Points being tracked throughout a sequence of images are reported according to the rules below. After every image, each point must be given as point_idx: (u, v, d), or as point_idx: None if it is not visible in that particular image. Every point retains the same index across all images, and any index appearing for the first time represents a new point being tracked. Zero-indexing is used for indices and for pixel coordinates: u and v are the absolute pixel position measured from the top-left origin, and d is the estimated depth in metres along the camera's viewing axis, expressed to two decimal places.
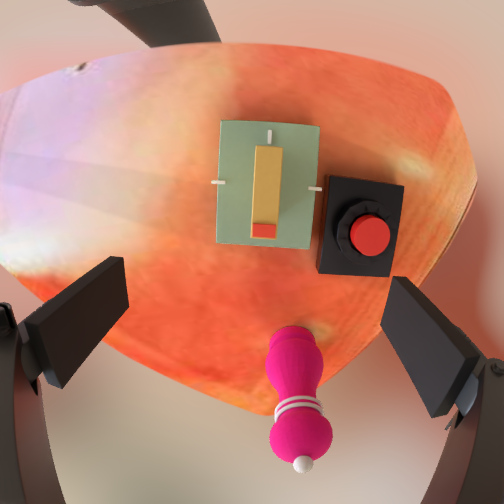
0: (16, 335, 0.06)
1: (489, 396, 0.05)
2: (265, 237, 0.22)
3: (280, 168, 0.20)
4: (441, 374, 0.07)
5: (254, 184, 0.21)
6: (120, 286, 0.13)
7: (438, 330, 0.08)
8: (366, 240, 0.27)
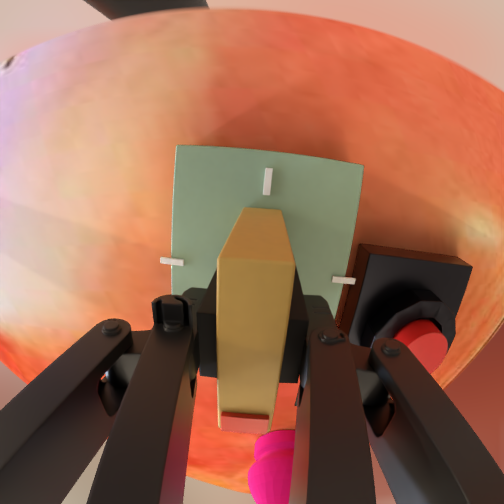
0: (190, 334, 0.08)
1: (320, 371, 0.06)
2: (247, 432, 0.09)
3: (285, 317, 0.08)
4: None
5: (218, 349, 0.08)
6: None
7: None
8: None
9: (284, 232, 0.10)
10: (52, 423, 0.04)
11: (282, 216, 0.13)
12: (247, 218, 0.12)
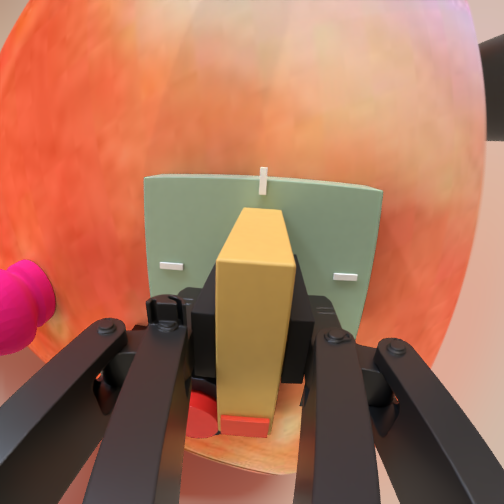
0: (184, 334, 0.08)
1: (326, 371, 0.06)
2: (247, 435, 0.09)
3: (285, 319, 0.07)
4: None
5: (217, 352, 0.08)
6: None
7: None
8: None
9: (284, 233, 0.10)
10: (48, 422, 0.04)
11: (282, 216, 0.13)
12: (247, 218, 0.12)
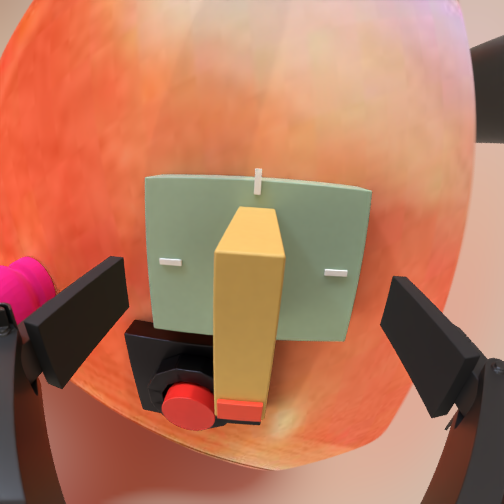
0: (16, 335, 0.06)
1: (489, 396, 0.05)
2: (242, 419, 0.10)
3: (276, 306, 0.08)
4: (441, 374, 0.07)
5: (215, 337, 0.09)
6: (120, 286, 0.13)
7: (438, 330, 0.08)
8: (181, 409, 0.18)
9: (276, 229, 0.11)
10: None
11: (275, 215, 0.14)
12: (242, 216, 0.13)
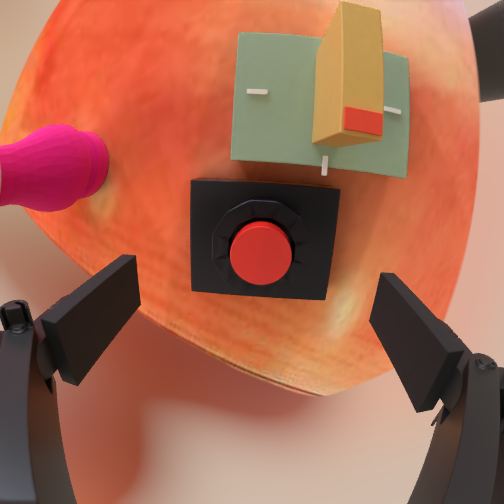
0: (32, 333, 0.06)
1: (474, 392, 0.05)
2: (366, 133, 0.10)
3: (380, 34, 0.09)
4: (425, 368, 0.08)
5: (343, 48, 0.09)
6: (133, 284, 0.13)
7: (422, 325, 0.08)
8: (254, 247, 0.18)
9: None
10: None
11: None
12: None
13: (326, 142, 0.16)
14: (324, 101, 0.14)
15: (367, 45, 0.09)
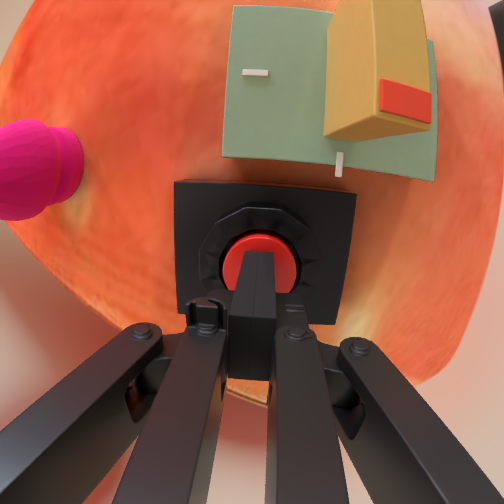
0: (224, 338, 0.08)
1: (287, 370, 0.07)
2: (410, 118, 0.07)
3: None
4: None
5: (372, 4, 0.06)
6: None
7: None
8: None
9: None
10: (75, 431, 0.04)
11: None
12: None
13: (344, 134, 0.12)
14: (343, 80, 0.10)
15: (403, 5, 0.05)
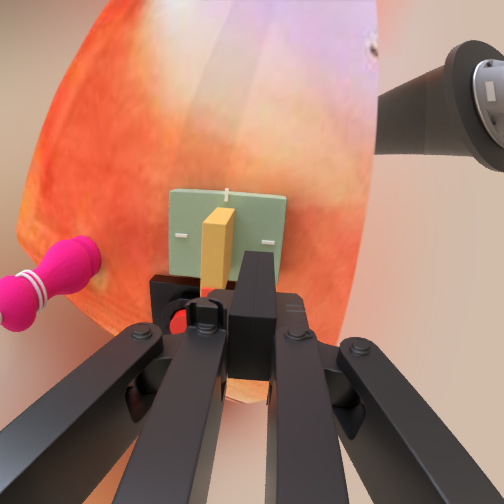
0: (224, 338, 0.08)
1: (286, 370, 0.07)
2: None
3: (223, 242, 0.24)
4: None
5: (201, 255, 0.24)
6: None
7: None
8: (182, 325, 0.33)
9: (229, 217, 0.26)
10: (75, 431, 0.04)
11: (233, 211, 0.29)
12: (216, 212, 0.28)
13: None
14: None
15: (215, 252, 0.24)
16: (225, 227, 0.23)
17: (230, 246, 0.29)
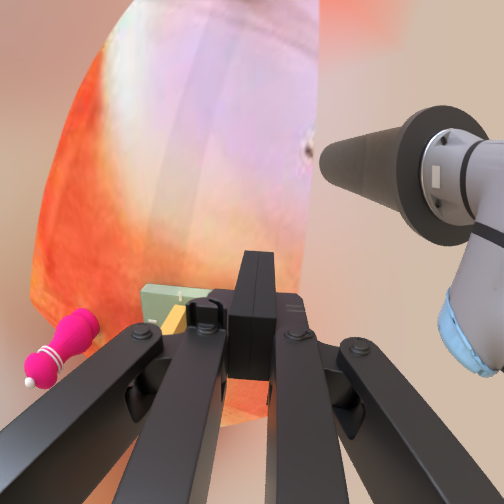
0: (224, 338, 0.08)
1: (286, 370, 0.07)
2: None
3: None
4: None
5: None
6: None
7: None
8: None
9: (177, 323, 0.36)
10: (75, 431, 0.04)
11: (184, 312, 0.39)
12: (171, 314, 0.38)
13: None
14: None
15: None
16: None
17: None
